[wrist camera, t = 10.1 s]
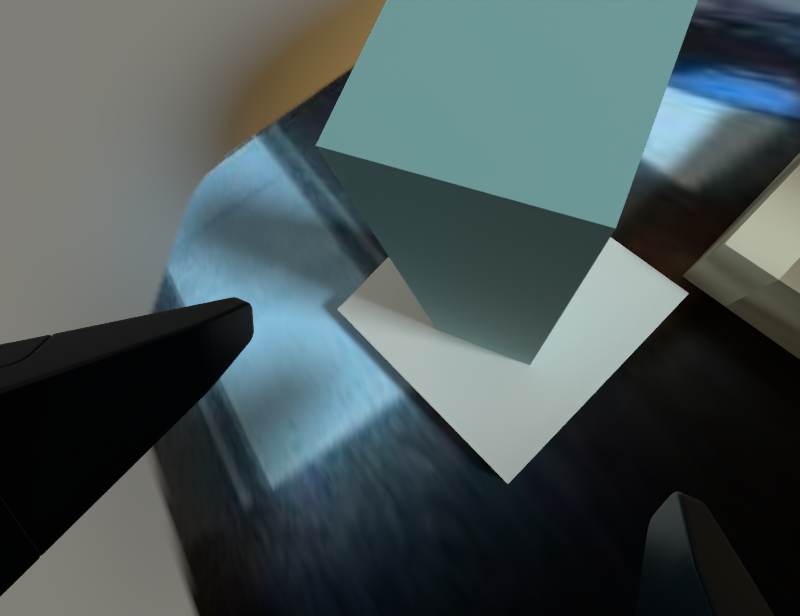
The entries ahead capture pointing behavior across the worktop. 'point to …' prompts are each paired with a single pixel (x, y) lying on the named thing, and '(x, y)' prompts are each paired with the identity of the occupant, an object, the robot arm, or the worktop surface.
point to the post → (501, 148)
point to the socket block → (760, 262)
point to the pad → (506, 377)
